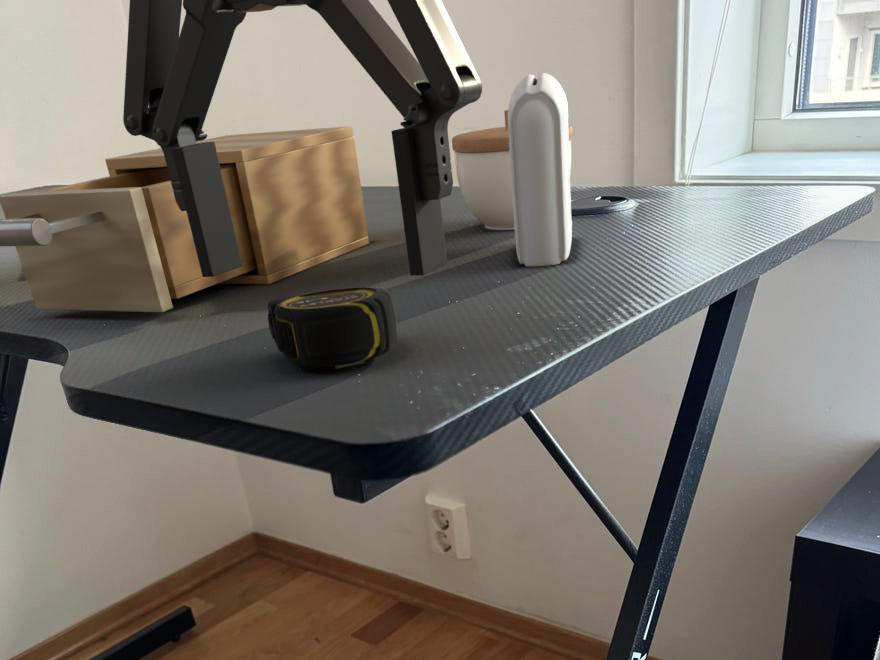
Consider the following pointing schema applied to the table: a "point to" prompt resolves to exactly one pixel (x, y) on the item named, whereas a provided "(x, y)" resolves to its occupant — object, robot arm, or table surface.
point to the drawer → (115, 242)
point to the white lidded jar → (488, 174)
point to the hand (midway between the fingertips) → (320, 271)
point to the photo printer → (540, 171)
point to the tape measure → (333, 326)
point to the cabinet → (287, 195)
